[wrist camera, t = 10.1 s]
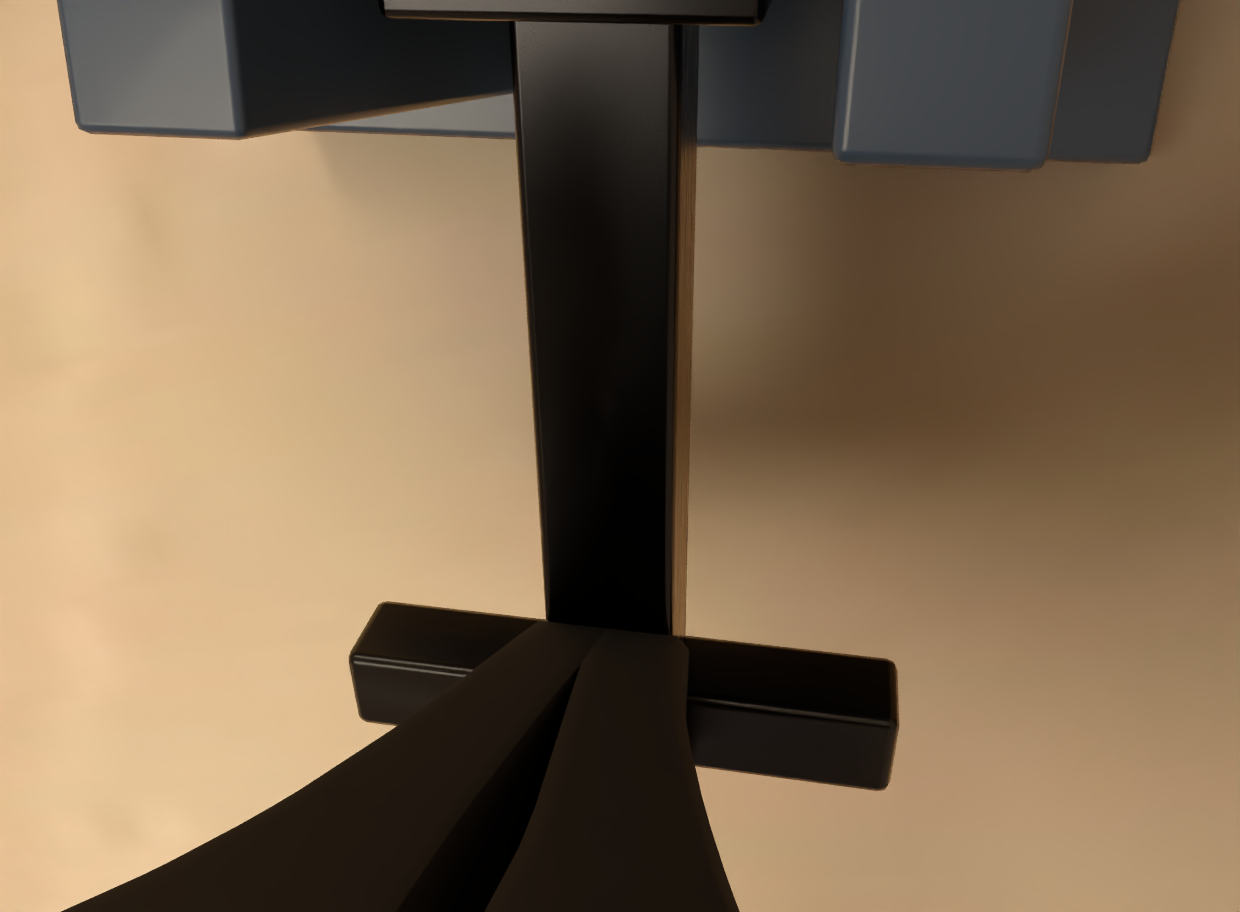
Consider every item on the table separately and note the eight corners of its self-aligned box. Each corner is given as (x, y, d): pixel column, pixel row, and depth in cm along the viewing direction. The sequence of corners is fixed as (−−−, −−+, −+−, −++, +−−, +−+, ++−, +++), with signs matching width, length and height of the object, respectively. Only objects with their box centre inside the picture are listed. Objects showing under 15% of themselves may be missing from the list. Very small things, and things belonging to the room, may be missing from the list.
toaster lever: (886, 670, 11) (890, 869, 9) (414, 616, 12) (323, 786, 10) (1074, -571, 6) (1176, -745, 4) (251, -519, 7) (8, -637, 5)
